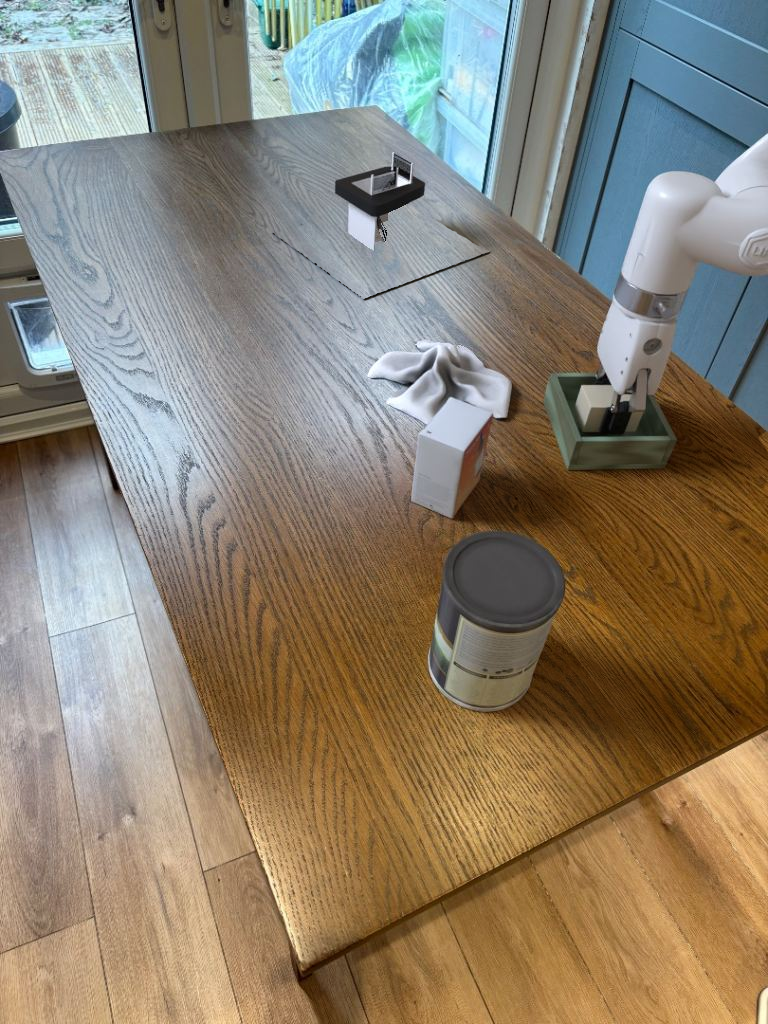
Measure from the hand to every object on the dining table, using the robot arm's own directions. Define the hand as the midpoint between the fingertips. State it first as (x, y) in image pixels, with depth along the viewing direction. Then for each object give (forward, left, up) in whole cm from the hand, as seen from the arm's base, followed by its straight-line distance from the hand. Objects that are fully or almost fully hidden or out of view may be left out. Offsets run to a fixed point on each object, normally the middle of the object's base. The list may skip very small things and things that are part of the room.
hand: (605, 418), depth 96 cm
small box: (+22, +10, -3) cm, 24 cm away
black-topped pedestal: (+25, -51, -3) cm, 57 cm away
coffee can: (+22, +34, -3) cm, 41 cm away
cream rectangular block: (0, 0, 0) cm, 0 cm away
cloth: (+20, -12, -3) cm, 23 cm away
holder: (0, 0, -3) cm, 3 cm away
